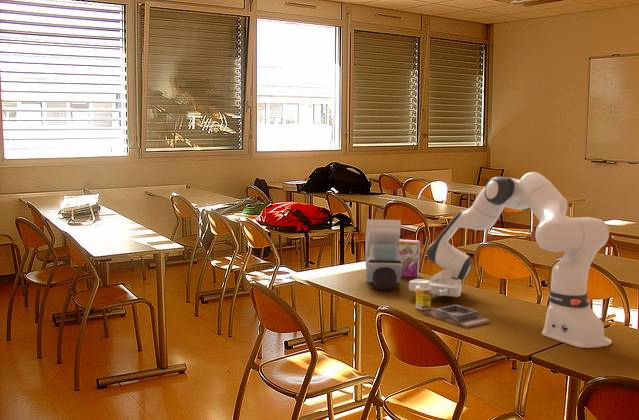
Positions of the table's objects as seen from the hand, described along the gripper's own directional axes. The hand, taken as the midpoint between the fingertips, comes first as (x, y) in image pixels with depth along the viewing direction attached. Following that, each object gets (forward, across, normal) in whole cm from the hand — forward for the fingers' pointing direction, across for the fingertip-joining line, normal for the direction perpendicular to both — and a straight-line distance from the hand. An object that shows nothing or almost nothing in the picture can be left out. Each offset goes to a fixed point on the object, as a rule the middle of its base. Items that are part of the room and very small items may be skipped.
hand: (428, 291), depth 258 cm
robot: (-21, -28, +6) cm, 36 cm away
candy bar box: (-41, -26, +5) cm, 49 cm away
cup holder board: (+10, +15, +5) cm, 19 cm away
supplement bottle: (+5, 0, +6) cm, 7 cm away
